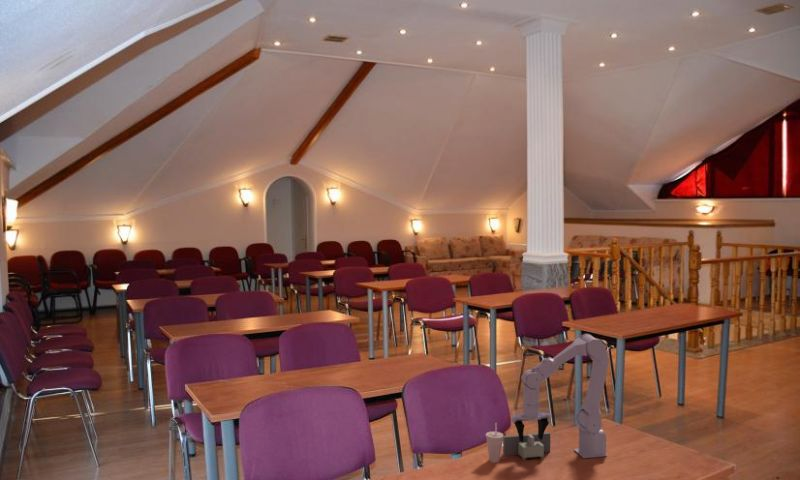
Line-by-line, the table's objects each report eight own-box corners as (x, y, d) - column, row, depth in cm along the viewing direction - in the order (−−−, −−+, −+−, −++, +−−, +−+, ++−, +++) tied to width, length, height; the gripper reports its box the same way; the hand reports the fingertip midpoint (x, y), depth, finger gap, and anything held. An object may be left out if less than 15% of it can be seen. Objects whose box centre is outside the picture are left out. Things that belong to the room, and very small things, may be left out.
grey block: (538, 453, 254) (538, 432, 253) (543, 458, 249) (544, 437, 248) (517, 455, 252) (518, 434, 252) (523, 461, 247) (523, 439, 246)
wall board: (548, 450, 257) (548, 432, 256) (553, 454, 252) (553, 436, 252) (503, 454, 253) (503, 436, 253) (507, 459, 249) (507, 440, 248)
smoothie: (502, 464, 244) (503, 426, 243) (484, 463, 245) (484, 425, 244) (503, 457, 250) (503, 420, 249) (486, 456, 252) (486, 419, 250)
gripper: (516, 408, 244) (516, 445, 245) (554, 405, 247) (553, 441, 248) (509, 402, 250) (509, 438, 252) (546, 399, 253) (545, 434, 255)
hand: (530, 439), depth 250 cm, fingers open, 7 cm apart
